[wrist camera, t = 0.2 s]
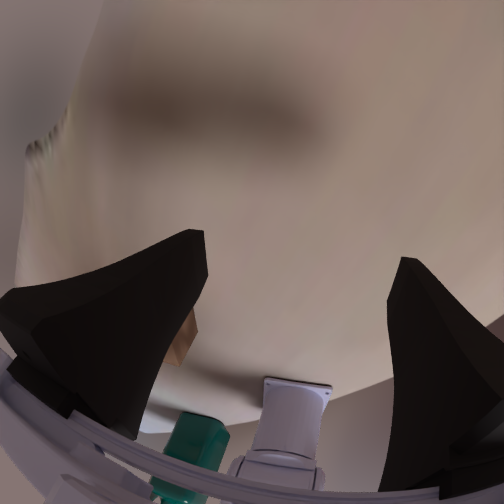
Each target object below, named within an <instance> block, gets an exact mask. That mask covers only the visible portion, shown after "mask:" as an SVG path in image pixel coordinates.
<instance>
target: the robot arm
mask: <svg viewBox="0 0 504 504" xmlns="http://www.w3.org/2000/svg"><path fill="white" fill-rule="evenodd" d="M207 277H208V269H207V260H206V250H205V240H204V231H203V230H194V229H187V230H184V231H182V232H179V233H177V234H175V235H173V236H171V237H169V238H167V239H165V240H162V241H160V242H158V243H156V244H154V245H152V246H150V247H148V248H146V249H144V250H142V251H140V252H138V253H136V254H134V255H131V256H129V257H127V258H125V259H123V260H121V261H118V262H116V263H113V264H111V265H108V266H106V267H103V268H100V269H98V270H95V271H92V272H89V273H85V274H82V275H79V276H76V277H72V278H69V279H65V280H61V281H56V282H52V283H47V284H41V285H35V286H27V287H19V288H13V289H11V290H9V291H8V292H7V293H6V294H5V295H4V296H3V297H1V299H0V331H1V333H2V334H3V336H4V337H5V339H6V340H7V342H8V343H9V344H10V346H11V347H12V349H13V350H14V352H15V353H16V354H17V357H16V358H15V359H14V360H13V359H11V357H10V356H9V355H8V354H7V353H6V352H4V351H3V350H2V349H1V348H0V445H1V447H2V448H3V450H4V451H5V452H6V453H7V455H8V456H9V458H10V459H11V460H12V461H13V463H14V464H15V465H16V466H17V468H18V469H19V470H20V471H21V473H22V474H23V475H24V476H25V477H26V478H27V479H28V481H29V482H30V483H31V484H32V485H33V486H34V487H35V488H36V489H37V490H38V492H40V494H41V495H42V496H43V497H44V498H45V499H46V500H45V502H44V504H157V503H155V502H153V501H150V498H149V497H150V495H151V492H152V490H153V486H152V485H151V484H149V483H147V482H145V481H143V480H142V479H140V478H138V477H137V476H135V475H134V474H132V473H131V472H130V471H128V470H127V469H126V468H124V467H122V466H121V465H119V464H117V463H115V462H113V461H112V460H110V459H109V458H107V457H105V454H104V452H106V453H108V454H109V455H111V456H113V457H115V458H117V459H119V460H121V461H123V462H125V463H127V464H129V465H131V466H133V467H135V468H137V469H139V470H141V471H143V472H146V473H148V474H150V475H152V476H155V477H157V478H159V479H162V480H164V481H167V482H169V483H172V484H175V485H177V486H180V487H183V488H186V489H188V490H191V491H194V492H197V493H201V494H204V495H207V496H210V497H214V498H217V499H221V501H220V504H504V343H503V342H502V341H501V340H500V339H498V338H497V337H496V336H495V335H493V334H492V333H491V332H490V331H489V330H488V329H486V328H485V327H484V326H483V325H482V324H481V323H480V322H479V321H478V320H477V319H476V318H474V317H473V316H472V315H471V314H470V313H469V312H468V311H467V310H466V309H465V308H464V307H463V306H462V305H461V303H460V302H459V301H458V300H457V299H456V298H455V297H454V296H453V295H452V294H451V293H450V292H449V291H448V290H447V289H446V288H445V287H444V285H443V284H442V283H441V282H440V281H439V280H438V279H437V278H436V277H435V276H434V275H433V274H432V273H431V272H430V270H429V269H428V268H427V267H426V266H425V265H424V264H423V263H421V262H420V261H419V260H418V259H416V258H409V257H401V260H400V264H399V267H398V270H397V273H396V276H395V279H394V282H393V285H392V288H391V291H390V294H389V297H388V299H387V325H388V333H389V340H390V348H391V356H392V365H393V374H394V405H393V417H392V427H391V435H390V441H389V447H388V453H387V459H386V463H385V467H384V471H383V475H382V479H381V483H380V486H379V489H378V492H370V493H369V492H365V493H363V492H361V493H360V492H359V493H358V492H331V491H323V490H324V484H325V473H324V471H323V470H322V468H320V467H316V462H317V461H316V460H315V455H316V449H317V444H318V438H319V432H320V425H321V418H322V414H323V411H324V409H325V407H326V405H327V403H328V400H329V398H330V396H331V393H332V390H333V388H332V387H328V386H320V385H312V384H305V383H298V382H292V381H286V380H280V379H274V378H265V380H264V393H263V410H262V414H261V417H260V420H259V424H258V427H257V431H256V434H255V437H254V441H253V444H252V447H251V450H247V453H246V456H242V455H240V456H239V457H238V458H236V459H234V460H233V461H232V463H231V465H230V467H229V469H228V472H227V474H222V473H219V472H215V471H212V470H208V469H205V468H202V467H199V466H196V465H193V464H190V463H187V462H184V461H181V460H178V459H175V458H173V457H170V456H167V455H165V454H162V453H160V452H157V451H155V450H153V449H150V448H148V447H145V446H143V445H141V444H139V443H136V442H134V440H136V439H137V435H138V431H139V427H140V424H141V420H142V417H143V413H144V410H145V407H146V404H147V401H148V398H149V395H150V392H151V389H152V387H153V384H154V382H155V379H156V377H157V374H158V371H159V369H160V367H161V364H162V362H163V360H164V358H165V355H166V353H167V351H168V349H169V347H170V345H171V343H172V341H173V339H174V338H175V336H176V334H177V333H178V331H179V329H180V328H181V326H182V325H183V323H184V321H185V320H186V318H187V316H188V315H189V313H190V311H191V310H192V308H193V306H194V305H195V303H196V301H197V300H198V298H199V296H200V294H201V292H202V289H203V287H204V285H205V282H206V280H207ZM103 451H104V452H103Z"/></svg>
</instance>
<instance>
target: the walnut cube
mask: <svg viewBox="0 0 504 504" xmlns="http://www.w3.org/2000/svg"><path fill="white" fill-rule="evenodd" d="M197 333H198V330H197V325H196V320H195V315H194V310H193V308H192V310H191V311H190V313H189V315H188V316H187V318H186V320H185V321H184V323H183V325H182V326H181V328H180V329H179V331H178V333H177V334H176V336H175V338H174V339H173V341H172V343H171V345H170V347H169V349H168V351H167V353H166V355H165V358H164V360H163V362H166V363H169V364H172V365H175V366H179V367H180V365H181V363H182V361H183V359H184V357H185V355H186V353H187V351H188V350H189V348H190V346H191V344H192V342H193V340H194V338H195V336H196V334H197Z"/></svg>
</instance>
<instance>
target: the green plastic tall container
mask: <svg viewBox="0 0 504 504" xmlns="http://www.w3.org/2000/svg"><path fill="white" fill-rule="evenodd" d="M229 438H230V434H229V433H228V431H227V430H226V428H225V427H224V425H223V424H222V423H221V422H220V421H218V420H216V419H213V418H208V417H204V416H199V415H195V414H191V413H186V412H184V413H181V414H180V416H179V418H178V420H177V422H176V425H175V427H174V429H173V431H172V433H171V435H170V437H169V440H168V442H167V444H166V446H165V448H164V450H163V452H162V454H165V455H167V456H170V457H173V458H175V459H178V460H181V461H184V462H187V463H190V464H193V465H196V466H199V467H202V468H205V469H208V470H212V471H215V472H218V469H219V466H220V463H221V460H222V458H223V455H224V453H225V450H226V447H227V444H228V441H229ZM148 483H149V484H151V485H152V486H153V490H152V492H151V495H150V497H149V498H150V501H153V500H154V499H155V498H157V497H160V499H161V504H205V503H206V501H207V498H208V496H207V495H204V494H201V493H197V492H194V491H191V490H188V489H186V488H183V487H180V486H177V485H175V484H172V483H169V482H167V481H164V480H162V479H159V478H157V477H155V476H152V475H151V478H150V480H149V482H148Z"/></svg>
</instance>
